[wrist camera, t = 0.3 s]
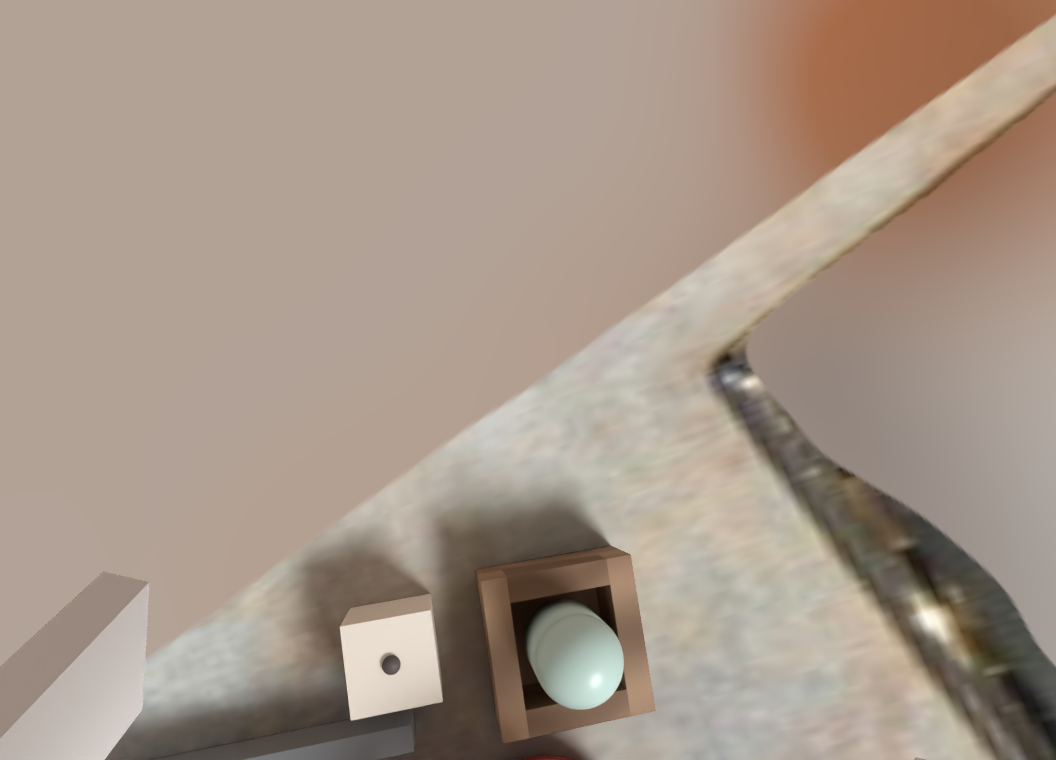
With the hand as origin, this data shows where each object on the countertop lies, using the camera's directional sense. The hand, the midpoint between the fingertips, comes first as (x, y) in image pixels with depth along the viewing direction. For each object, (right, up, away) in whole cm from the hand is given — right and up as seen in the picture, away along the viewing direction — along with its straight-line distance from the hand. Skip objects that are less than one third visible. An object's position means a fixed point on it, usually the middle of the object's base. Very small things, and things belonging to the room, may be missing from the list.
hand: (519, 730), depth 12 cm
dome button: (+2, -10, +30) cm, 31 cm away
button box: (+2, -10, +32) cm, 34 cm away
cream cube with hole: (-8, -10, +31) cm, 34 cm away
